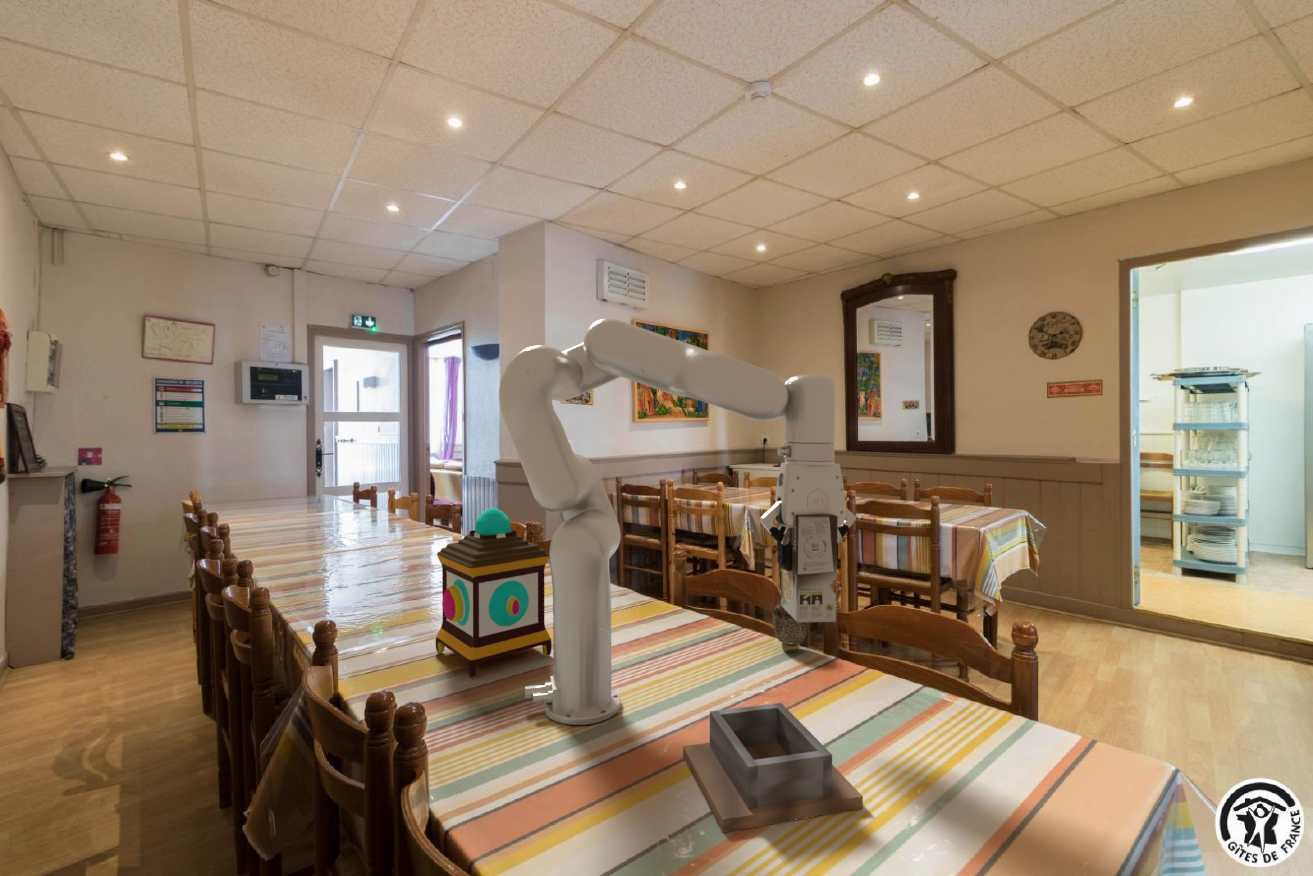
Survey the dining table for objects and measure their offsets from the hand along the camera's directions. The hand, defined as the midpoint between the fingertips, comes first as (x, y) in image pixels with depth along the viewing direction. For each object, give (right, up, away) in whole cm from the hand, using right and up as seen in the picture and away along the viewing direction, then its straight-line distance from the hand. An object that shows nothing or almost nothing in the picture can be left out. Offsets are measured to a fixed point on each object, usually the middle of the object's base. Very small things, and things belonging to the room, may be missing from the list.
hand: (807, 566), depth 93 cm
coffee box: (0, -8, 0) cm, 8 cm away
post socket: (-9, -25, -15) cm, 30 cm away
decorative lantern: (-57, -24, +28) cm, 68 cm away
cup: (+4, -24, +30) cm, 39 cm away
